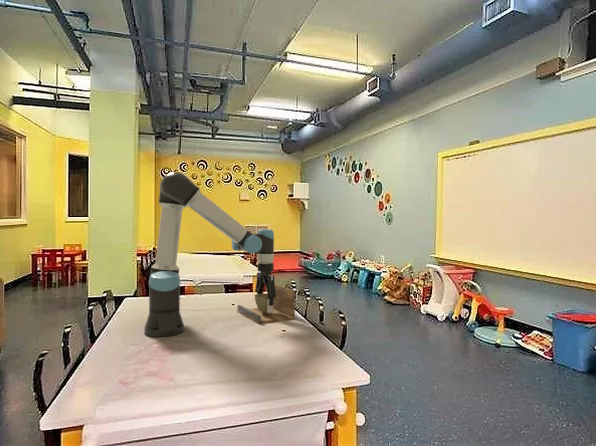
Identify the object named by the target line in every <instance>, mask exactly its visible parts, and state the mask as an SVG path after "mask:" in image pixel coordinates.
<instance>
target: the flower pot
mask: <svg viewBox="0 0 596 446" xmlns="http://www.w3.org/2000/svg"><path fill="white" fill-rule="evenodd" d="M267 297H268V294H267V293H263V294H257V293H256V294H255V295H254V300H255V304H256V306H257V307H258V309H259V310H260V311H262V312H267ZM275 299H276V298H273V305H274V303H275ZM257 307H256V308H257Z"/></svg>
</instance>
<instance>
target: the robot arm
mask: <svg viewBox="0 0 596 446" xmlns="http://www.w3.org/2000/svg"><path fill="white" fill-rule="evenodd" d="M158 204H159V206H160V207H161V211H160V212H161V213H160V222H159V227H158V240H157V247H156V248H157V249H156V256H155V262H154V264H152V266H151V268H150V275H149V280H148V289H149V290H148V293H149V294H148V297H149V299H148V301H149V302H148V303H149V305H148V310H149V312H148V316H147V319H146V320H145V321H146V323H145V324H144V325H145V326H144V335H146V336H148V337H154V338H155V337H158V338H159V337H160V338H161V337H171V336H176V335H179V334H180V335H181V333H183V332H184V331H185V323H184V321H183V318H182V314H181V312H180V308H181V307H180V306H181V301H180V300H181V299H180V298H181V296H180V295H181V294H180V292H181V290H180V289H181V279H180V267H179V266H178V265H177V260H178V253H179V252H178V250H179V244H180V233H181V225H182V216H183V210H184V209H185V208H190V210H192V211H194V212H195V213H196V214H197V215H198V216H200V217H202V218H203V220H205V221H207V222H208V223H209V224H211V226H213V227H214V228H215V229H217V230H219V232H221V233H222V234H223V235H225V236H226V237H228V238H229V239H230V240H231V248H232V250H233V251H237V252H239V251H244V252H246V253H248V254H257V259H256V260H257V262H258V263H257V266H256V267H257V271H258V272H256V282H255V283H256V284H255V289H254V291H255V293H256V294H264V289H266V294H268V297H267V313H272V312H273V298H276V292H275V284H276V283H275V275H272V272H273V271H274V269H275V266H274V257H275V255H274V251H275V234H274V233H275V232H274V230H273V229H258V230H257V233H252V232H251V231H250V230H249V229H247V228H246V227H245V226H243V225H242V224H241V223H240V222H238V220H236V219H235V218H233V217H232V216H231V215H230V214H228V212H226V211H225V210H224V209H223V208H221V207H220V206H219V205H217V204H216V203H214V202H213V201H212V200H211V199H210V198H208V197H207V196H206V195H205V194H203V193H202V192H201V188H200V187H198V185H196V184H195V183H194V182H193V181H192V180H191V179H190V178H189V177H188V176H186V175H185V174H184V173H182V172H179V171H173V172H172V171H170V172H169V173H167V174H166V175H165V176H164V177H163V178H162V180H161V182H160V183H159V197H158ZM256 308H258V307H256Z"/></svg>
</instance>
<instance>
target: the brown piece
mask: <svg viewBox="0 0 596 446" xmlns="http://www.w3.org/2000/svg"><path fill="white" fill-rule="evenodd" d="M275 292H276V299H275V303H274V305H273V312H272V313H267V312H262V311H260V310H259V309H258V308H257V307H256V308H255V307H254V308H246V307H245V306H243V305H241V304H238V305H237V313H238V314H239V313H240V314H239V315H241V314H242V316H244V317H245V318H247V319H249V320H250V321H252V322H254V323H256V324H257V325H261V324H269V323H275V322H276V323H277V322H283V321H290V320H295V317H296V316H295V315H296V313H295V312H296V311H295V308H296V307H295V306H296V304H295V303H296V302H295V301H296V300H295V299H296V290H294V289H291V288H288V287H285V286H282V285H278V284H277V283H275Z"/></svg>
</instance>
